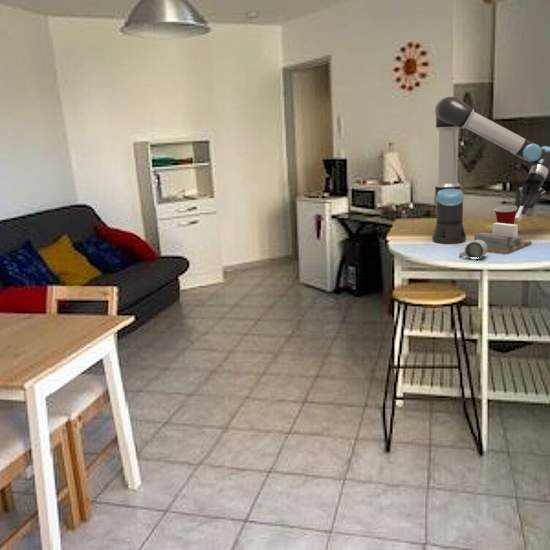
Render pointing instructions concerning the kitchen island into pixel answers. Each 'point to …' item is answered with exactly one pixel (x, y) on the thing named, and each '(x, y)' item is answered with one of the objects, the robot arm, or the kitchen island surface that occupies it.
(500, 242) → the housing
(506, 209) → the plastic cup
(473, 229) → the kitchen island surface
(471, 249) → the ceramic mug
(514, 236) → the cream rectangular block
